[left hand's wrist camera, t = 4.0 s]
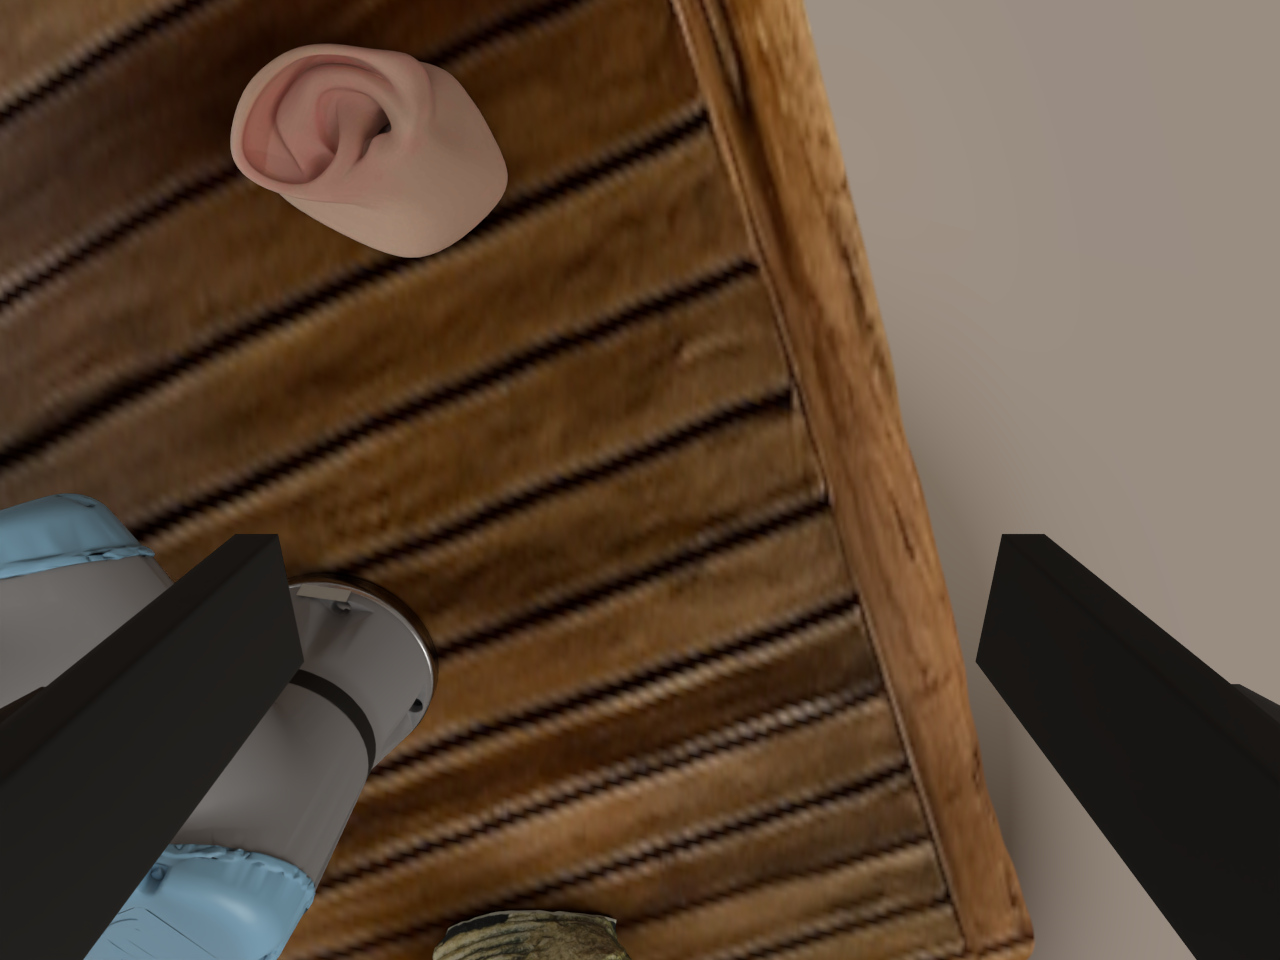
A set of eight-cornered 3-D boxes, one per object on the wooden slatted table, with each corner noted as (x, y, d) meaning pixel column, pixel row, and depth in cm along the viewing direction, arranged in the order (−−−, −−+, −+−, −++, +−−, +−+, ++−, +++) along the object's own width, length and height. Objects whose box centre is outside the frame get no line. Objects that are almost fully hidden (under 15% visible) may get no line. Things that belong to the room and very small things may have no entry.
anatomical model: (525, 136, 37) (415, 313, 40) (536, 142, 40) (434, 304, 44) (297, -46, 34) (199, 161, 37) (331, -21, 38) (239, 166, 41)
